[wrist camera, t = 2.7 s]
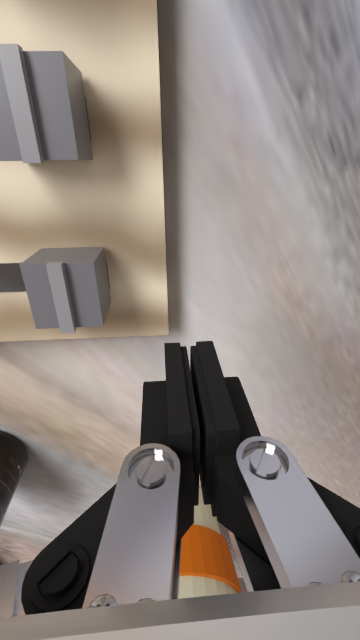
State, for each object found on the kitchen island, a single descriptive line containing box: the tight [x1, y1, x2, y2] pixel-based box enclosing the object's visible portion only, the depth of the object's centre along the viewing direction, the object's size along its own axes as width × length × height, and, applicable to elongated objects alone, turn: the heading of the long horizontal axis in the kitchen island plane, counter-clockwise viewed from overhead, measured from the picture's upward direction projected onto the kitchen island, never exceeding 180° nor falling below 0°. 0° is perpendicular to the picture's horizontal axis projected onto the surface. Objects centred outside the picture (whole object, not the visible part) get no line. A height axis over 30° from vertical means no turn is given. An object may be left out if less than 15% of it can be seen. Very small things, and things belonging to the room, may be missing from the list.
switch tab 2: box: [19, 247, 111, 333], centre depth 19 cm, size 4×4×4 cm
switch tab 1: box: [0, 44, 93, 163], centre depth 15 cm, size 4×4×4 cm
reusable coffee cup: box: [178, 487, 242, 599], centre depth 30 cm, size 13×13×15 cm
